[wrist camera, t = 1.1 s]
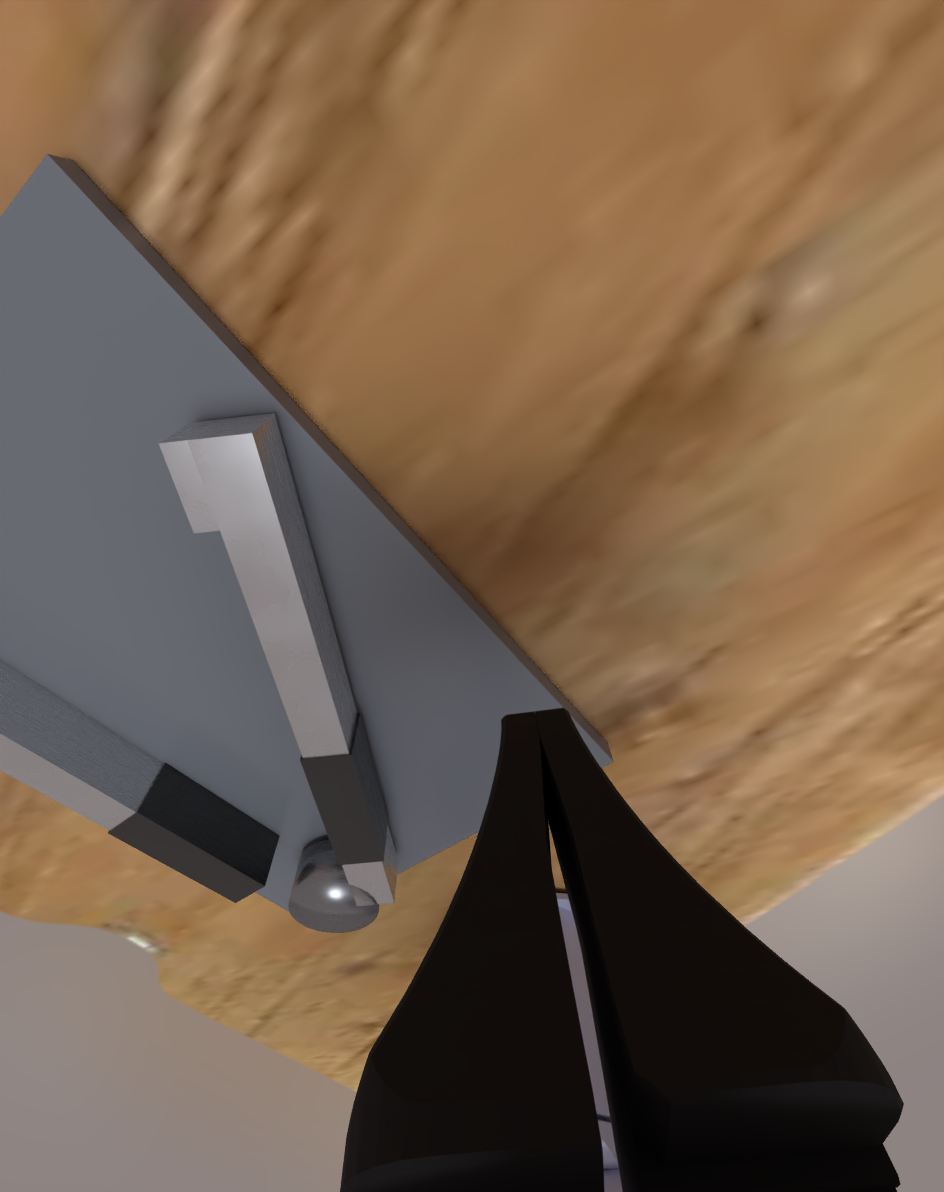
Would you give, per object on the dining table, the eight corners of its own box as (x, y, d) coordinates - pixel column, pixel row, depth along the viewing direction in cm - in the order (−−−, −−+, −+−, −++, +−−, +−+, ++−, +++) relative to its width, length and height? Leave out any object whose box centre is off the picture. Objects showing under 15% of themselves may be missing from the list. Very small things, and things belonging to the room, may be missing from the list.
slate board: (607, 743, 24) (613, 761, 23) (310, 902, 29) (306, 921, 28) (72, 160, 13) (46, 153, 12) (-243, 575, 19) (-276, 590, 18)
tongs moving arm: (406, 882, 27) (403, 928, 25) (310, 891, 27) (300, 937, 25) (278, 412, 15) (255, 433, 14) (112, 430, 15) (68, 453, 14)
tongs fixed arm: (289, 828, 25) (275, 880, 23) (252, 850, 26) (235, 902, 23) (-120, 561, 18) (-195, 602, 15) (-155, 603, 18) (-232, 647, 16)
